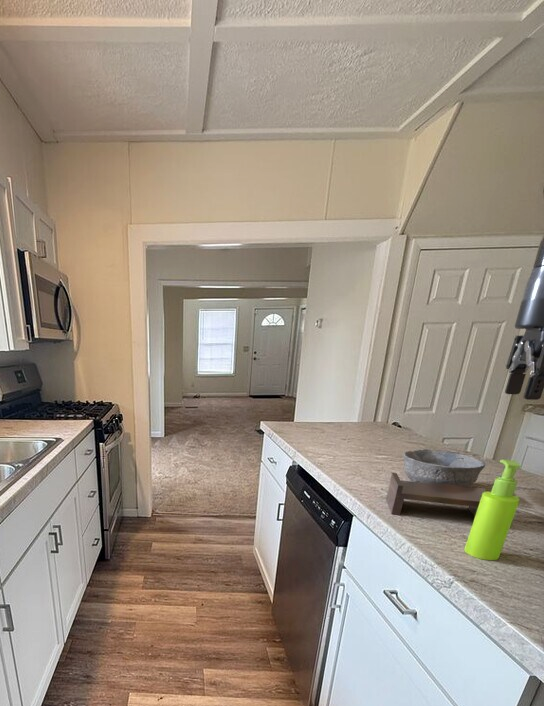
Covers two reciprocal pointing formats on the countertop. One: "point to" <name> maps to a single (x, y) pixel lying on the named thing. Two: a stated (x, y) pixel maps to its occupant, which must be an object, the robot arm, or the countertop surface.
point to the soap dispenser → (494, 516)
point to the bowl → (442, 467)
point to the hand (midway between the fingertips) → (521, 396)
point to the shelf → (431, 494)
